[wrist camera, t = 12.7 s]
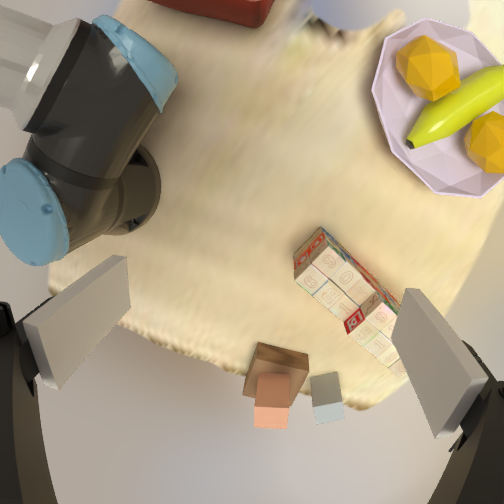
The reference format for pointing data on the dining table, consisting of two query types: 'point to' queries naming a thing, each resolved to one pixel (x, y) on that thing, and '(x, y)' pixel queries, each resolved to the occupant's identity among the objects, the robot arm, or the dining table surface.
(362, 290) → the stack of blocks
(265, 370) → the walnut base
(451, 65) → the fruit bowl
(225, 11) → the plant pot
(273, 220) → the dining table surface
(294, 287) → the dining table surface
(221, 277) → the dining table surface
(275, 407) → the terracotta block
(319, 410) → the greyblue block
